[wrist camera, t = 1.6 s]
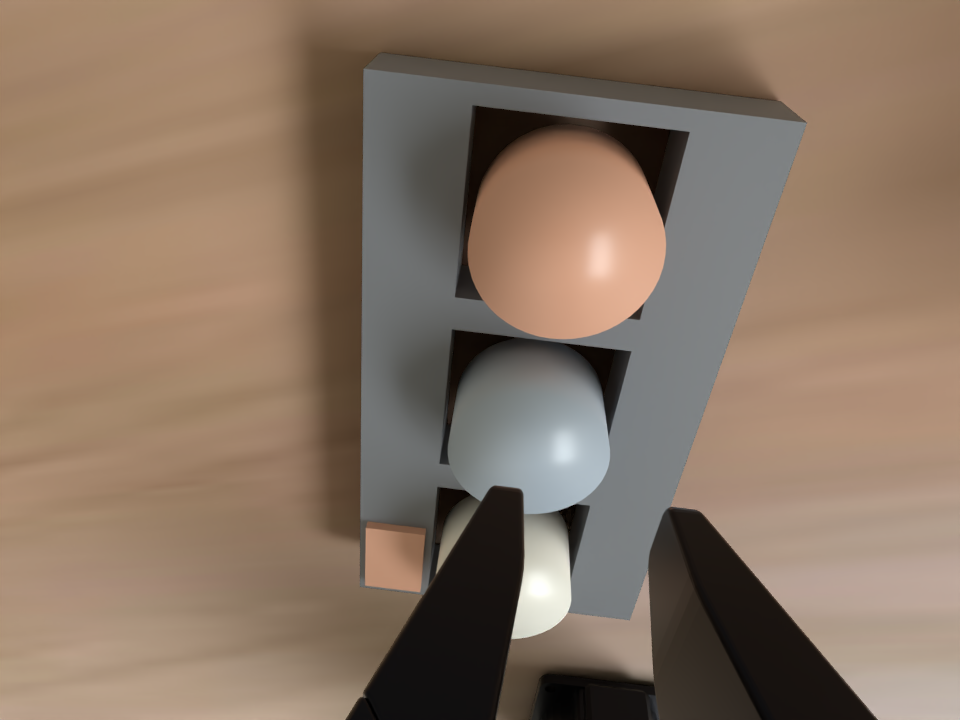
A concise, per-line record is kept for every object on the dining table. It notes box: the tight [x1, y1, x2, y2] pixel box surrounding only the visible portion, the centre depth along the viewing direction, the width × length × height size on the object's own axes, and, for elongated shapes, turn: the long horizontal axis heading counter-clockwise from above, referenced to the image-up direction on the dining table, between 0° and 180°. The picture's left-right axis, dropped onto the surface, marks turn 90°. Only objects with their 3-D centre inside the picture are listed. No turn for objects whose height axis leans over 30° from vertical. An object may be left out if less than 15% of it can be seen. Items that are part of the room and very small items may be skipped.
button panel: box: [360, 53, 807, 620], centre depth 21 cm, size 18×10×2 cm, turn 174°
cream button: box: [436, 495, 571, 639], centre depth 23 cm, size 4×4×3 cm
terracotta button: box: [468, 124, 666, 339], centre depth 17 cm, size 4×4×3 cm
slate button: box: [448, 338, 610, 514], centre depth 20 cm, size 4×4×3 cm
